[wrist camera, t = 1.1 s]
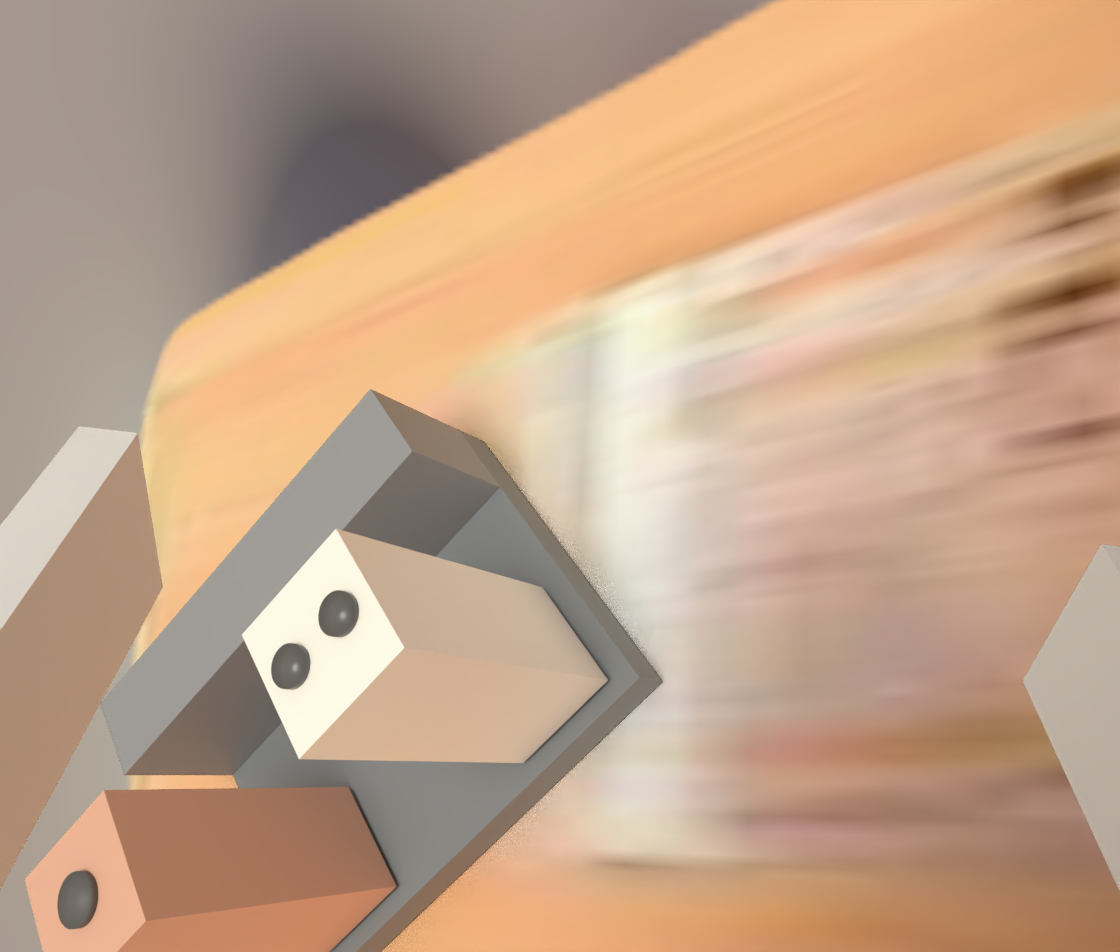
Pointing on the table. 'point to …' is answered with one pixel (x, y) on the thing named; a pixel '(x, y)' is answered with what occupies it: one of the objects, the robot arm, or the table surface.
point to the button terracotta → (210, 872)
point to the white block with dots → (416, 658)
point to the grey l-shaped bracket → (377, 786)
